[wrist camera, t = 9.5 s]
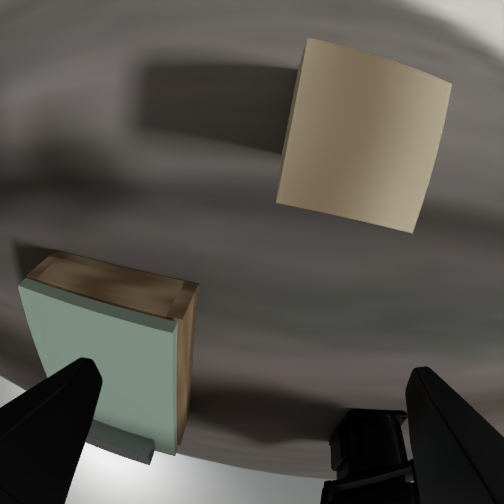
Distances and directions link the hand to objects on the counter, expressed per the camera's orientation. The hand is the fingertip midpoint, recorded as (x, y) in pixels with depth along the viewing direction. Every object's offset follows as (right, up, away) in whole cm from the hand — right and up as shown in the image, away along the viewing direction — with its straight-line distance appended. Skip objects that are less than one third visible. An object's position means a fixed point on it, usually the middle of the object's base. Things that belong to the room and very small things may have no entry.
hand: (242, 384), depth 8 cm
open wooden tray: (-11, -5, +18) cm, 21 cm away
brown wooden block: (+4, +11, +9) cm, 14 cm away
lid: (-11, -6, +14) cm, 19 cm away
